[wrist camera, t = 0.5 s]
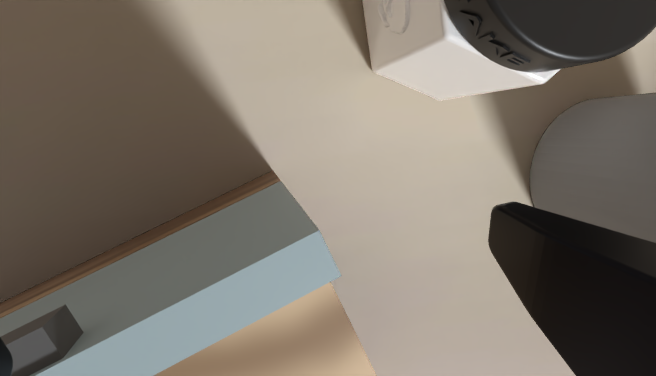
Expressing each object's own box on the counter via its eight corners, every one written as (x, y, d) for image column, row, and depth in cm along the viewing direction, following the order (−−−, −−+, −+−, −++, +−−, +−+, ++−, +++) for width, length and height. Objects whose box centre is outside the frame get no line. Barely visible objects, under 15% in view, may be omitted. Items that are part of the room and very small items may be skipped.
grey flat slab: (292, 204, 20) (341, 276, 10) (-108, 404, 17) (-553, 749, 8) (272, 164, 19) (304, 198, 9) (-139, 364, 17) (-651, 675, 7)
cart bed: (364, 355, 27) (391, 405, 22) (91, 508, 25) (54, 599, 20) (272, 170, 24) (280, 180, 20) (-41, 322, 22) (-120, 376, 17)
